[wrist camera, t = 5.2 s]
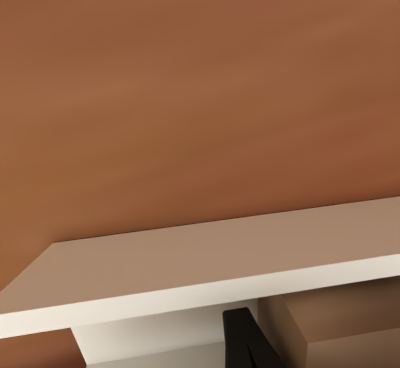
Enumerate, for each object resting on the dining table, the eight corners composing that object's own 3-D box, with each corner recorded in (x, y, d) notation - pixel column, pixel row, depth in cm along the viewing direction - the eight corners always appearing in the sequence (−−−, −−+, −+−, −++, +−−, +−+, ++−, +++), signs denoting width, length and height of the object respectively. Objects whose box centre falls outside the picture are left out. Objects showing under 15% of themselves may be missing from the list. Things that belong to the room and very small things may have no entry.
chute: (98, 356, 13) (62, 457, 9) (52, 243, 10) (-29, 318, 6) (410, 304, 14) (497, 373, 10) (447, 189, 11) (587, 225, 7)
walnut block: (258, 339, 11) (296, 447, 8) (257, 255, 9) (308, 343, 6) (353, 322, 12) (436, 418, 8) (371, 238, 10) (491, 311, 6)
